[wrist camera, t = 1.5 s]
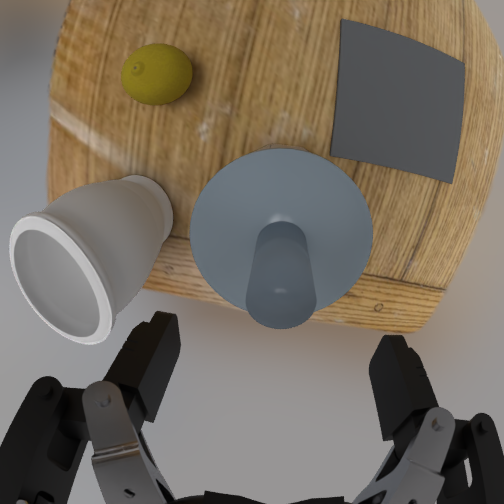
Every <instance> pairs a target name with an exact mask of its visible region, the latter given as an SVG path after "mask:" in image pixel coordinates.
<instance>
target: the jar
mask: <svg viewBox="0 0 504 504" xmlns="http://www.w3.org/2000/svg"><path fill="white" fill-rule="evenodd" d="M172 225H173V211H172V206H171V203H170V200H169V198H168V196H167V195H166V193H165V192H164V190H163V189H162V188H161V187H160V186H159V185H158V184H157V183H156V182H154V181H153V180H151V179H149V178H147V177H144V176H140V175H130V176H127V177H124V178H122V179H120V180H108V181H104V182H98V183H92V184H88V185H84V186H81V187H78V188H76V189H73V190H71V191H69V192H67V193H65V194H64V195H62V196H60V197H59V198H57V199H56V200H55V201H53V202H52V203H51V204H49V205H48V206H47V207H46V208H45V209H44V210H43V211H42V212H33V213H30V214H28V215H26V216H24V217H23V218H22V219H21V220H19V221H18V222H17V223H16V224H15V226H14V228H13V230H12V233H11V236H10V242H9V253H10V261H11V265H12V269H13V273H14V275H15V278H16V281H17V283H18V285H19V287H20V289H21V291H22V293H23V295H24V297H25V298H26V300H27V301H28V303H29V304H30V306H31V307H32V308H33V310H34V311H35V312H36V313H37V314H38V316H39V317H40V318H41V319H42V320H43V321H44V322H45V323H46V324H47V325H49V326H50V327H51V328H52V329H53V330H55V331H56V332H58V333H59V334H61V335H62V336H64V337H66V338H67V339H70V340H72V341H74V342H77V343H81V344H87V345H93V344H98V343H101V342H102V341H104V340H105V339H106V338H107V337H108V335H109V333H110V332H111V330H112V328H113V326H114V324H115V320H116V315H117V314H118V313H119V312H120V311H122V310H123V309H124V308H125V307H126V306H127V305H128V304H129V303H130V301H131V300H132V299H133V298H134V297H135V296H136V295H137V293H138V292H139V291H140V289H141V288H142V286H143V285H144V283H145V282H146V280H147V278H148V276H149V274H150V272H151V270H152V268H153V265H154V263H155V260H156V258H157V256H158V254H159V252H160V249H161V247H162V243H163V242H164V241H165V240H166V239H167V237H168V236H169V234H170V232H171V229H172Z"/></svg>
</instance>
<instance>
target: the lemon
mask: <svg viewBox="0 0 504 504" xmlns="http://www.w3.org/2000/svg"><path fill="white" fill-rule="evenodd" d="M192 75H193V71H192V65H191V62H190V60H189V58H188V57H187V56H186V55H185V53H184V52H183V51H181V50H180V49H178V48H176V47H174V46H171V45H167V44H150V45H146V46H143V47H141V48H139V49H137V50H136V51H135V52H133V53H132V54H131V55H130V56H129V57H128V59H127V60H126V62H125V63H124V65H123V68H122V72H121V81H122V86H123V88H124V89H125V91H126V93H127V94H128V95H129V96H130V97H131V98H133V99H134V100H136V101H138V102H140V103H143V104H147V105H163V104H167V103H170V102H172V101H174V100H176V99H178V98H179V97H180V96H181V95H182V94H184V93H185V91H186V90H187V89H188V87H189V85H190V83H191V80H192Z"/></svg>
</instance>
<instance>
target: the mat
mask: <svg viewBox="0 0 504 504" xmlns="http://www.w3.org/2000/svg"><path fill="white" fill-rule="evenodd" d="M464 83H465V63H463V62H461V61H459V60H457V59H455V58H453V57H451V56H449V55H447V54H445V53H443V52H441V51H439V50H436V49H434V48H432V47H430V46H427V45H425V44H422V43H420V42H418V41H415V40H412V39H410V38H407V37H404V36H402V35H399V34H396V33H393V32H390V31H387V30H384V29H380V28H377V27H373V26H370V25H366V24H362V23H359V22H354V21H350V20H346V19H341V23H340V48H339V65H338V80H337V92H336V103H335V113H334V123H333V131H332V140H331V148H330V156H333V157H339V158H345V159H351V160H356V161H362V162H367V163H372V164H376V165H381V166H386V167H390V168H394V169H399V170H403V171H407V172H411V173H415V174H419V175H423V176H426V177H430V178H433V179H437V180H440V181H444V182H447V183H450V184H452V182H453V177H454V172H455V167H456V161H457V156H458V149H459V143H460V135H461V127H462V117H463V105H464Z"/></svg>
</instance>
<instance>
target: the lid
mask: <svg viewBox="0 0 504 504" xmlns="http://www.w3.org/2000/svg"><path fill="white" fill-rule="evenodd" d="M372 239H373V228H372V220H371V215H370V211H369V208H368V206H367V203H366V200H365V198H364V197H363V195H362V193H361V191H360V190H359V188H358V187H357V186H356V184H355V183H354V182H353V181H352V179H351V178H350V177H349V176H348V175H347V174H345V173H344V172H343V171H342V170H341V169H340V168H339V167H337V166H336V165H334V164H333V163H332V162H330V161H328V160H327V159H325V158H323V157H321V156H319V155H316V154H313V153H310V152H307V151H304V150H299V149H293V148H270V149H263V150H259V151H255V152H251V153H249V154H246V155H244V156H241V157H239V158H238V159H236V160H234V161H232V162H230V163H229V164H228V165H226V166H225V167H224V168H222V169H221V170H220V171H219V172H218V173H217V174H216V175H215V176H214V177H213V178H212V179H211V180H210V181H209V182H208V183H207V185H206V186H205V187H204V189H203V190H202V192H201V193H200V195H199V197H198V199H197V201H196V204H195V206H194V209H193V212H192V217H191V222H190V244H191V249H192V253H193V257H194V260H195V262H196V265H197V267H198V269H199V271H200V272H201V274H202V276H203V277H204V279H205V280H206V281H207V283H208V284H209V285H210V286H211V287H212V288H213V289H214V290H215V291H216V292H217V293H218V294H219V295H220V296H221V297H223V298H224V299H225V300H227V301H228V302H230V303H231V304H233V305H235V306H237V307H239V308H241V309H243V310H246V311H248V312H249V314H250V315H251V317H252V318H253V319H254V320H256V321H257V322H258V323H260V324H262V325H264V326H266V327H270V328H274V329H287V328H292V327H295V326H298V325H300V324H302V323H304V322H305V321H306V320H308V319H309V318H310V317H311V315H312V314H313V312H315V311H318V310H320V309H323V308H325V307H326V306H328V305H330V304H332V303H333V302H335V301H336V300H338V299H339V298H341V297H342V296H343V295H344V294H345V293H346V292H348V291H349V290H350V288H351V287H352V286H353V285H354V284H355V283H356V281H357V280H358V279H359V277H360V276H361V274H362V272H363V270H364V268H365V267H366V264H367V262H368V259H369V256H370V252H371V247H372Z"/></svg>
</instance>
